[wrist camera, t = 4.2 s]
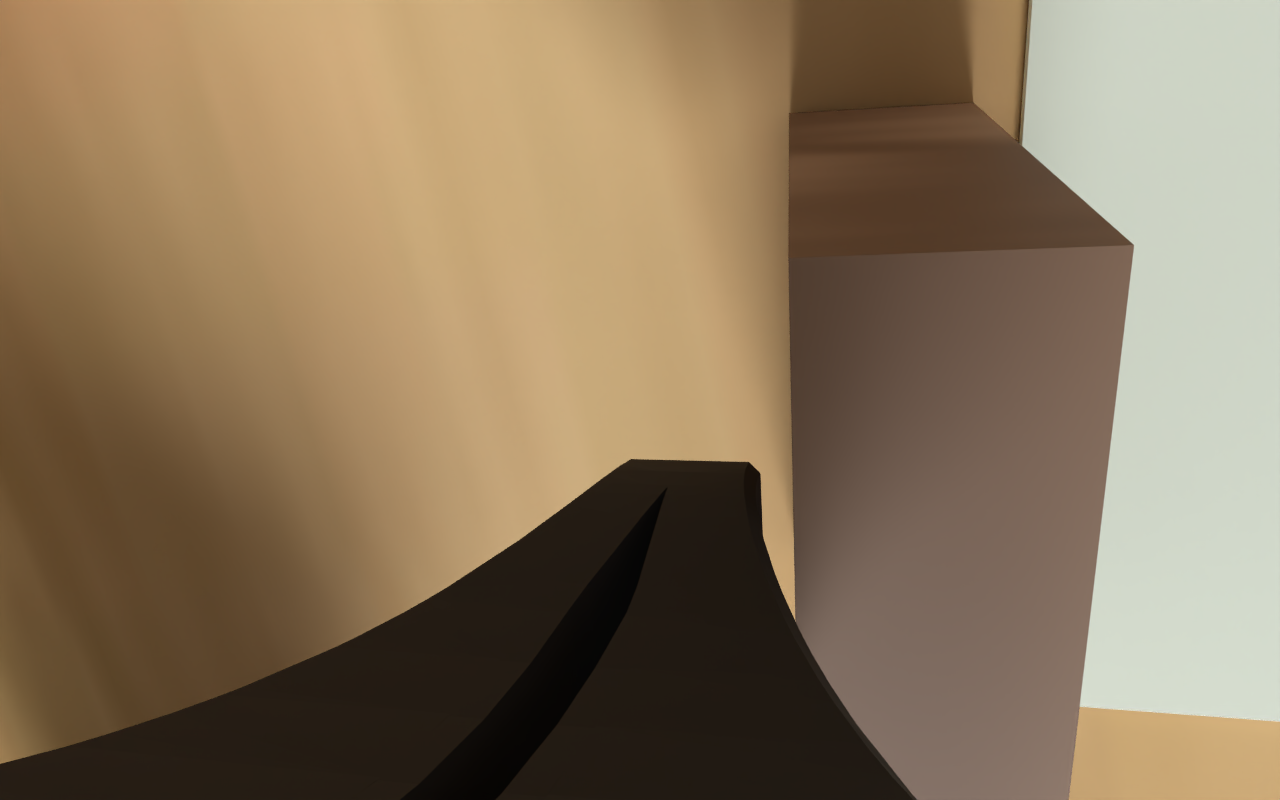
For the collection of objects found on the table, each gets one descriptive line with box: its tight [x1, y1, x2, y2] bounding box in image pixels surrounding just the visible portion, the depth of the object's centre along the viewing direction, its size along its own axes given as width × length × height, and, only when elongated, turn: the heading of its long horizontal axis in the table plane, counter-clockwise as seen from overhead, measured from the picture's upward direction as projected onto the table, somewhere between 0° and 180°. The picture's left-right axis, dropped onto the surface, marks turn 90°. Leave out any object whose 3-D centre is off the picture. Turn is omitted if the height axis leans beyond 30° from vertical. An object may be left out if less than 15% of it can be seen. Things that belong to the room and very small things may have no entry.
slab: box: [788, 103, 1134, 800], centre depth 12 cm, size 2×7×7 cm, turn 5°
